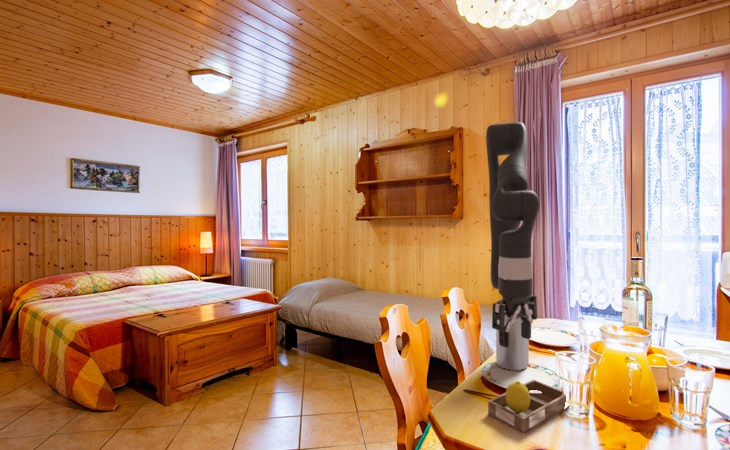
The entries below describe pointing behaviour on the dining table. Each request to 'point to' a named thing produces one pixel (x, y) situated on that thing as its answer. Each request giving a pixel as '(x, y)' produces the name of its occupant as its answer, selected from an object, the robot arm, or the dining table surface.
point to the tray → (538, 409)
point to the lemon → (517, 397)
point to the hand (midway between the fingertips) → (515, 342)
